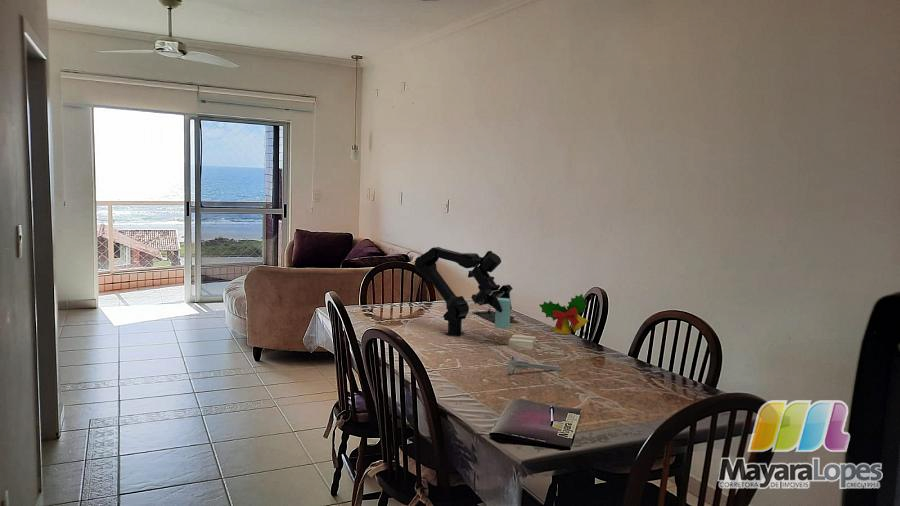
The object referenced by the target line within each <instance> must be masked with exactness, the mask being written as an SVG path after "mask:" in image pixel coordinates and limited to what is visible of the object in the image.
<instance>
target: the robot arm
mask: <svg viewBox="0 0 900 506" xmlns="http://www.w3.org/2000/svg"><path fill="white" fill-rule="evenodd" d="M439 259H443V260H446V261H450V262H453V263H456V264H458V266H460V267H462V268H463V269H472V268H473V269H472V270H468V274H467V278H469V279H470V278H473V279H474V280H475V281H476V282H477V284H478V285H477V289H478V290H479V291H478V292H477V293H475V294H472V295H471V297H470V298H471V300H472V302H473V303H474V304H477V305H479V306H480V307H481V306H485V305H489V306H491V307H492V308H493V309H494V310H495V311H496V310H497V311H499V312H500V313H501V312H502V308H501V306H500V303H499V301H498V298H508V299H511V295H510V294H511V291H512V290H513V287H512V285H510V284H503V285H502V286H501V285H500V284H497V283H496V282H495V277H494V276H491V274H490V273H492V272H494V271H495V270H496V268H498V266H499V265H500V264H501V263H502V259H501V257H500V256H499V255H497V254H496V253H495V252H493V251H492V250H488V251H487V252H486V253H485V255H484V256H483V257H481V256H480V255H479V254H478V253H473V252H464V253H463V252H458V251H454V250H451V249H446V248H442V247H440V246H437V247H435V246H434V247H431V248H430V249H429V250H427V251H426V252H425V253H423V254H421V255H420V256H417V257H416V258H415V260H414V268H415V269H416V270H417V272H419V273H420V274H422V275H423V276H425V277H427V279H428V280H429V282H431V284H432V285H433V286H434V288H435V289H436V291H437V292H438V293H439V294H440V296H441V297H442V299H443V300H444V302H445V306H446V310H447V311H446V312H445V313H444V314H443V316H442V317H443V319H444V321H447V331H446V332H445V335H446V336H454V337H455V336H456V337H460V336H462V335H464V333H465V332H464V330H463V331H462V328H463V327H462V325H463V324H462V322H463V320H465V319H467V315H468V314H469V312H470V307H469V303H468V301H466V300H465V298H464V296H463V295H460V296H457V295H456V294H455V293H454V292H453V290H452V289H451V288H450V286H449V285H448V283H447V282H446V280H445V279H444V278H443V277H442V275H441V274H440V273H439V271H438V270H437V269H438V268H437V262H438V261H439ZM512 309H513V308H512V305H511V309H510V311H511V310H512Z"/></svg>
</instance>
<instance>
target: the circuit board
mask: <svg viewBox="0 0 900 506" xmlns="http://www.w3.org/2000/svg"><path fill="white" fill-rule="evenodd" d="M473 313H474V315H475V314H476V315H475V316H477V315H478V317H479V316H480V318H482V319H484V320H486V321H488V322H491V323H493V324H495V311H493V310H491V308H490V307H488V310H487V311H474V312H473V311H472V312H471V314H473ZM514 318H515V319H516V317H515V316H512V315H510V324H519V321H517V320H515V319H514Z"/></svg>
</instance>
